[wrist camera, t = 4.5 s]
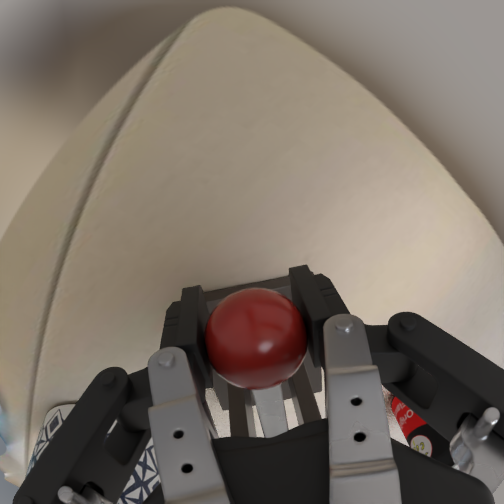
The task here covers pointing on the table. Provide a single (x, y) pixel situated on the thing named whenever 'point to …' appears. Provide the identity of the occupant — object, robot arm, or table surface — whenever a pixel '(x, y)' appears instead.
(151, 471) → the planter
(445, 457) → the beverage can
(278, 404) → the tap lever
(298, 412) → the grey lever stand
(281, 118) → the table surface
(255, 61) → the table surface
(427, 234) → the table surface
